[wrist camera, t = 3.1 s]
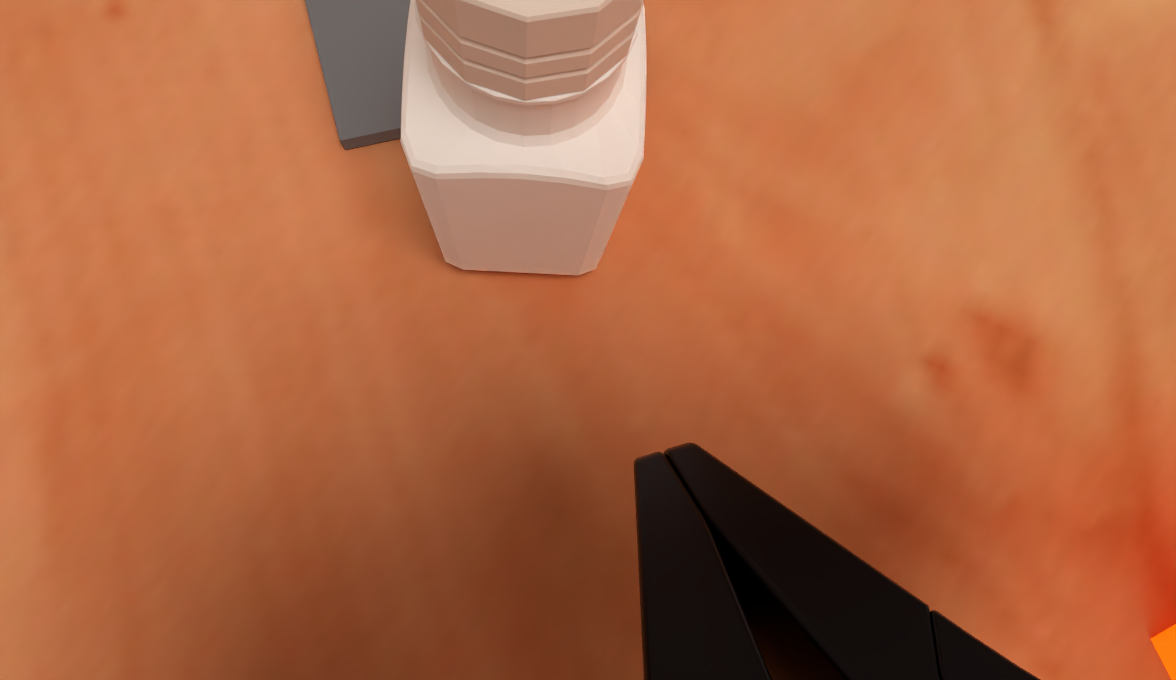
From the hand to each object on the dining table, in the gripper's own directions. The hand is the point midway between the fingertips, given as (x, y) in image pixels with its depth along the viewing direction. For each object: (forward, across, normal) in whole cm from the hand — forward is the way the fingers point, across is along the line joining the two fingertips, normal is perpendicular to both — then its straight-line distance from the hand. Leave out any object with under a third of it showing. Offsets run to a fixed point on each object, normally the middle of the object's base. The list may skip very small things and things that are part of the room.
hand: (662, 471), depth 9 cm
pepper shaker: (+10, 0, 0) cm, 10 cm away
